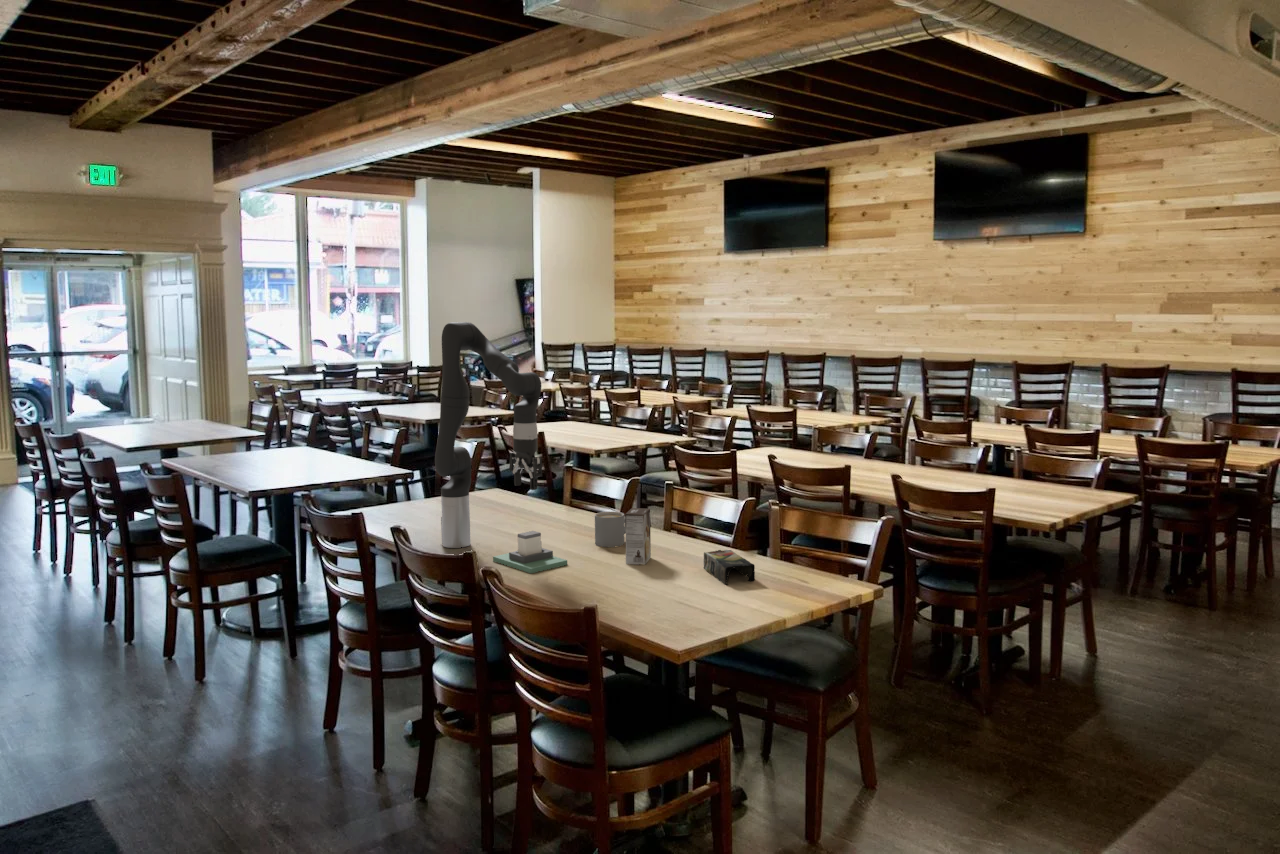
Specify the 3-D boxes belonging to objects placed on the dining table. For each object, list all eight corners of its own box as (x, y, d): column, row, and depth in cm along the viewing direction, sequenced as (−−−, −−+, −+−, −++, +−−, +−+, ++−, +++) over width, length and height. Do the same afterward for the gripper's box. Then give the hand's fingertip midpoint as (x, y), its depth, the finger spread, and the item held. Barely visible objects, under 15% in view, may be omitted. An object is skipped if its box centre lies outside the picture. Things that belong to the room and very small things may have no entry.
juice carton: (700, 568, 298) (700, 548, 298) (730, 565, 301) (730, 546, 300) (724, 587, 279) (724, 566, 279) (756, 584, 282) (756, 563, 281)
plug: (518, 558, 305) (517, 533, 304) (536, 554, 310) (535, 530, 309) (525, 561, 302) (525, 536, 301) (543, 557, 307) (543, 532, 306)
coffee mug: (604, 548, 323) (603, 519, 322) (589, 542, 331) (589, 513, 330) (638, 543, 330) (638, 514, 328) (623, 537, 338) (623, 509, 337)
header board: (493, 561, 308) (492, 550, 308) (529, 553, 318) (528, 542, 317) (530, 573, 294) (530, 562, 293) (567, 564, 303) (567, 553, 302)
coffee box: (631, 556, 312) (631, 507, 310) (651, 557, 311) (650, 508, 309) (625, 564, 303) (624, 513, 301) (645, 565, 302) (645, 514, 300)
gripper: (502, 435, 307) (502, 485, 309) (528, 440, 296) (529, 492, 299) (521, 432, 312) (522, 482, 314) (548, 438, 301) (549, 489, 303)
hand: (525, 487), depth 306 cm, fingers open, 8 cm apart
